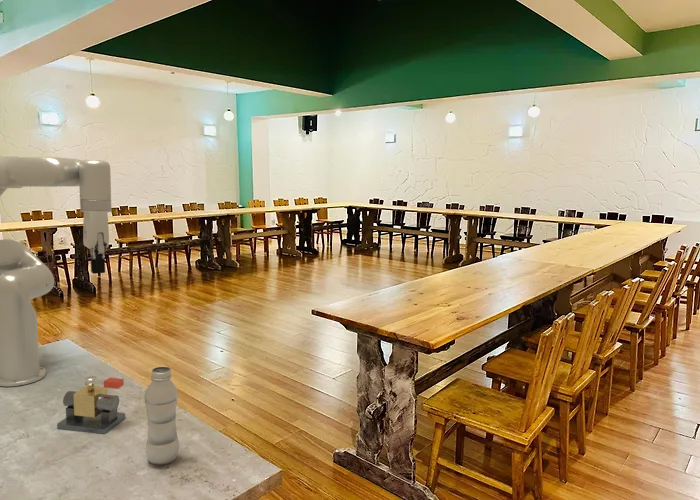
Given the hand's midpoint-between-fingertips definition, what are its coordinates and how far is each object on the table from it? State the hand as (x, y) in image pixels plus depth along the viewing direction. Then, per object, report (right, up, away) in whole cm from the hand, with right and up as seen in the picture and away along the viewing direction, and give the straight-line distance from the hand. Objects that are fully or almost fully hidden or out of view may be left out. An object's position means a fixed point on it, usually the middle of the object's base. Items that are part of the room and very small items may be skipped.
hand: (98, 272), depth 134 cm
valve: (+8, -35, -18) cm, 40 cm away
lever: (+11, -26, -20) cm, 34 cm away
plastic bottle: (+30, -38, -32) cm, 58 cm away
